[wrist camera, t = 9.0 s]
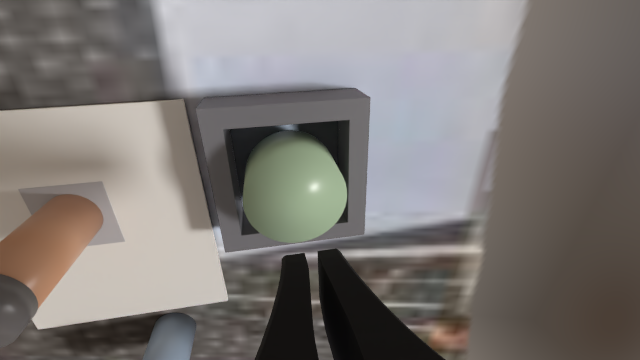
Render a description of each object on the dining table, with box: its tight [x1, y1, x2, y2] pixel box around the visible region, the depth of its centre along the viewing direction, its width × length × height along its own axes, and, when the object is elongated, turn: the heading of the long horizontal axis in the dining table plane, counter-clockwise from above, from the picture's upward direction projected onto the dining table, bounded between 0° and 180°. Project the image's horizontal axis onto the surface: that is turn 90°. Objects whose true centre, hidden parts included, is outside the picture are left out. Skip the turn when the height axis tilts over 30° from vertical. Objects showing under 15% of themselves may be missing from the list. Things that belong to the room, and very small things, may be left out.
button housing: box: [196, 88, 370, 253], centre depth 17 cm, size 8×8×2 cm
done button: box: [243, 130, 347, 243], centre depth 16 cm, size 5×5×3 cm
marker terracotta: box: [0, 194, 103, 348], centre depth 14 cm, size 3×3×7 cm
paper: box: [0, 99, 228, 329], centre depth 18 cm, size 14×12×1 cm
